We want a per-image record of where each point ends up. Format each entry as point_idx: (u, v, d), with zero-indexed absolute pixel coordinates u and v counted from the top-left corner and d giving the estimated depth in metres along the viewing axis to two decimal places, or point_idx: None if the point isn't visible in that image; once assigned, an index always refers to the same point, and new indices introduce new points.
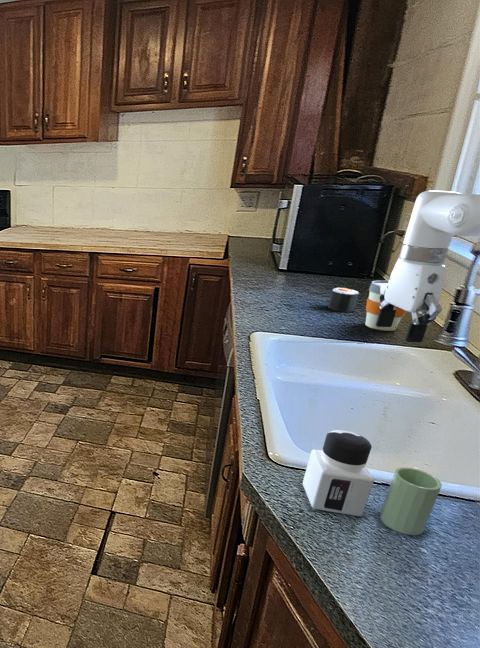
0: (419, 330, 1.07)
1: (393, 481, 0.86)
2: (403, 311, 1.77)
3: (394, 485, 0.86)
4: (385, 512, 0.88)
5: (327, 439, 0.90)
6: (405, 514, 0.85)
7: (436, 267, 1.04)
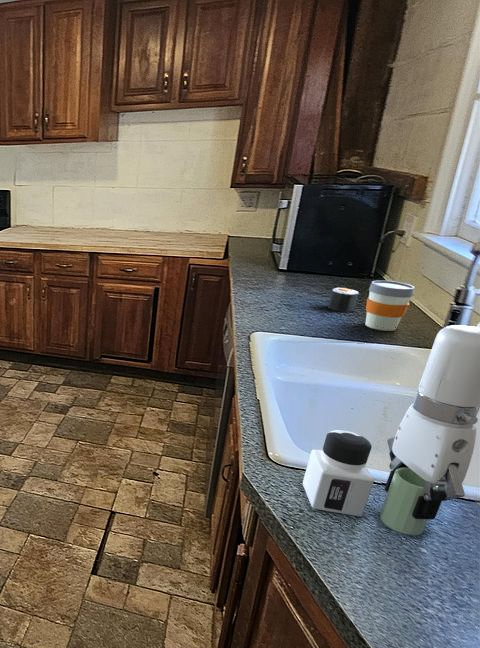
0: (431, 507, 0.82)
1: (393, 481, 0.86)
2: (403, 311, 1.77)
3: (394, 485, 0.86)
4: (385, 512, 0.88)
5: (327, 439, 0.90)
6: (405, 514, 0.85)
7: (464, 431, 0.76)
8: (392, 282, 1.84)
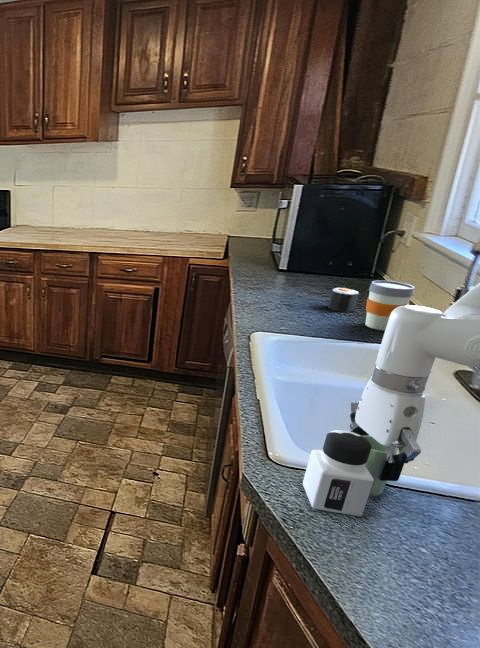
0: (395, 469, 0.90)
1: None
2: None
3: None
4: None
5: (327, 439, 0.90)
6: None
7: (414, 399, 0.86)
8: (392, 282, 1.84)
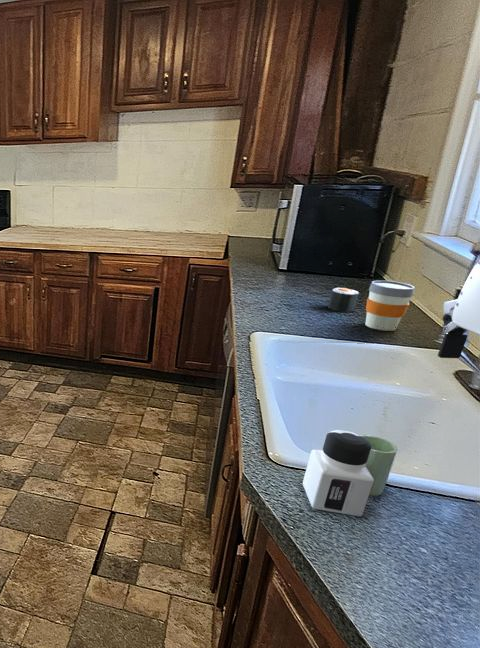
0: None
1: None
2: (403, 311, 1.77)
3: None
4: None
5: (327, 439, 0.90)
6: None
7: None
8: (392, 282, 1.84)
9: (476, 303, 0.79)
